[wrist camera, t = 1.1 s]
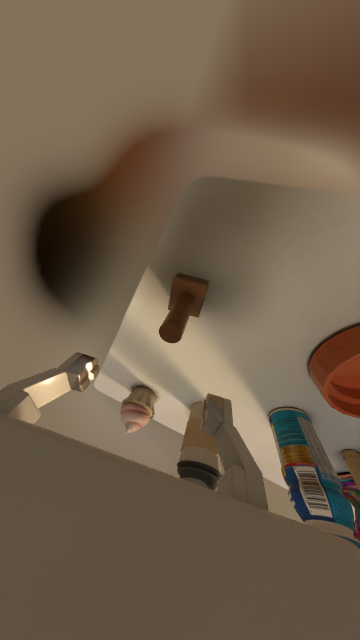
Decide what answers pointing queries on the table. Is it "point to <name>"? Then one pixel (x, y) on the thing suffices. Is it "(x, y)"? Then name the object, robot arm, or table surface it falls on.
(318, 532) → the robot arm
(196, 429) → the coffee cup
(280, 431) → the beverage bottle
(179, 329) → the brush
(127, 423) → the cupcake
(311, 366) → the bowl
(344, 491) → the vase
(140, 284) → the table surface
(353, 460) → the handle
